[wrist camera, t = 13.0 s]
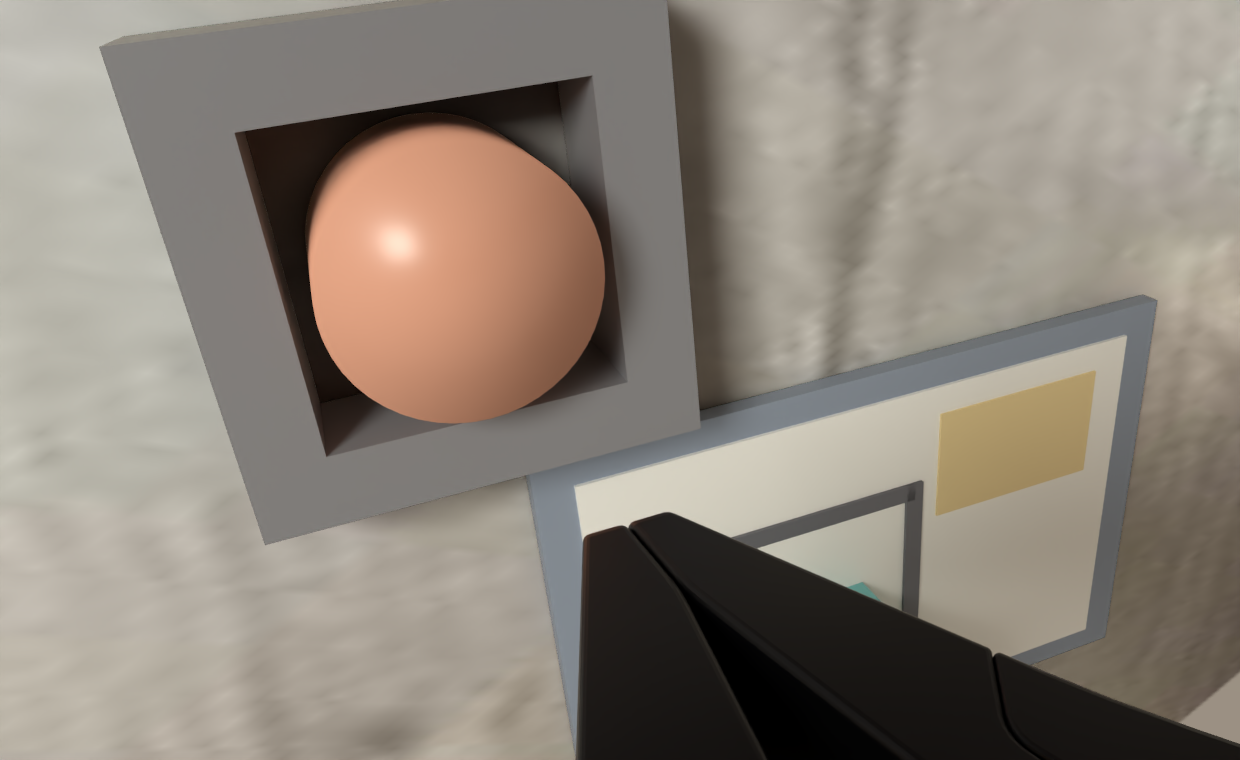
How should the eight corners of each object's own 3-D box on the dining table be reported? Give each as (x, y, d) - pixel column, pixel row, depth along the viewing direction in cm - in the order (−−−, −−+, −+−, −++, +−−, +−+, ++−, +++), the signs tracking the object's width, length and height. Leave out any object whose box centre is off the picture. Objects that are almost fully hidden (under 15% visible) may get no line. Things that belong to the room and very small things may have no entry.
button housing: (617, -29, 18) (664, -29, 16) (658, 383, 22) (700, 428, 20) (122, 36, 16) (99, 46, 14) (266, 482, 20) (265, 545, 18)
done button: (535, 93, 18) (586, 118, 15) (568, 325, 21) (619, 386, 18) (275, 135, 17) (275, 171, 14) (339, 378, 19) (351, 453, 16)
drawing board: (1142, 294, 26) (1163, 302, 25) (1093, 627, 31) (1110, 640, 31) (522, 457, 22) (529, 471, 21) (586, 814, 27) (593, 834, 26)
